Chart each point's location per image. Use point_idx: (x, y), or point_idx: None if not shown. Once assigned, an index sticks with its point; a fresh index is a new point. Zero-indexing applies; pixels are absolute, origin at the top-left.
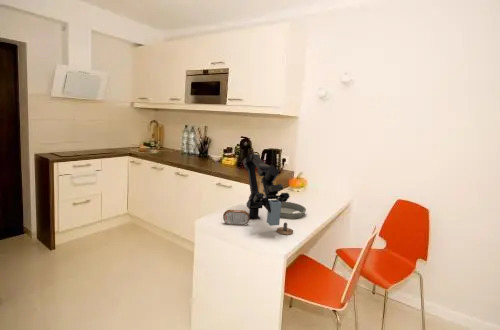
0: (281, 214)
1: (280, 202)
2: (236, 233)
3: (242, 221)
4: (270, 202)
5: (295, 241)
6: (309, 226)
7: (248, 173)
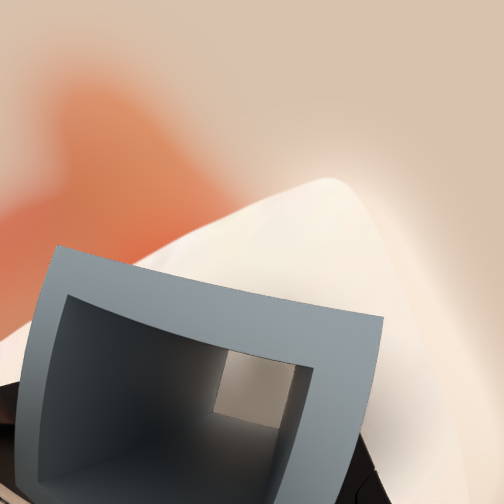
0: None
1: (58, 272)
2: (444, 470)
3: None
4: (329, 488)
5: (180, 256)
6: (13, 362)
7: None
